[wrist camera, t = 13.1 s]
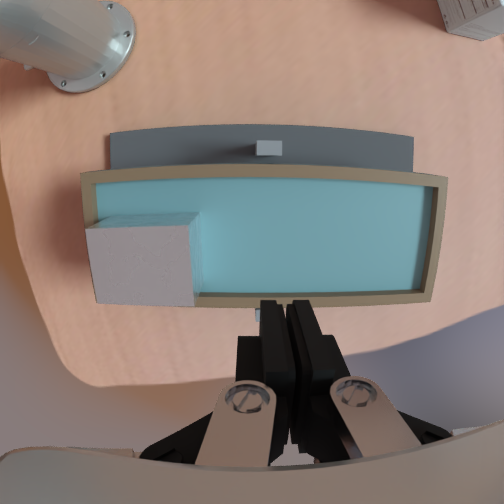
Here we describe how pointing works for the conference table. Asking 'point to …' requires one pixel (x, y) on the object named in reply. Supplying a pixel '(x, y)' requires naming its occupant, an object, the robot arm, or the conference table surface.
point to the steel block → (147, 259)
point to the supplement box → (473, 17)
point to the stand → (261, 147)
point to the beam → (292, 228)
